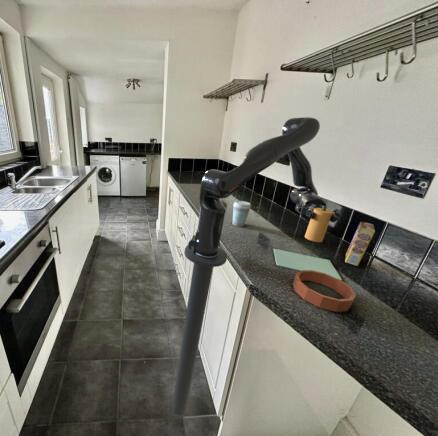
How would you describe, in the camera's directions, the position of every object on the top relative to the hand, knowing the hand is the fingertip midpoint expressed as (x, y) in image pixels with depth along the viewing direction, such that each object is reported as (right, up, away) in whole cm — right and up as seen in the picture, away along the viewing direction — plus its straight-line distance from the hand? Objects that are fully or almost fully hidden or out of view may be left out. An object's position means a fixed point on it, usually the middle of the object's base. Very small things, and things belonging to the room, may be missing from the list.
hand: (323, 218), depth 78 cm
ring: (-6, -24, -7) cm, 25 cm away
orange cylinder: (0, -7, +5) cm, 9 cm away
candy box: (+22, -17, +14) cm, 31 cm away
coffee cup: (-12, -3, +44) cm, 45 cm away
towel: (0, -17, +10) cm, 20 cm away
